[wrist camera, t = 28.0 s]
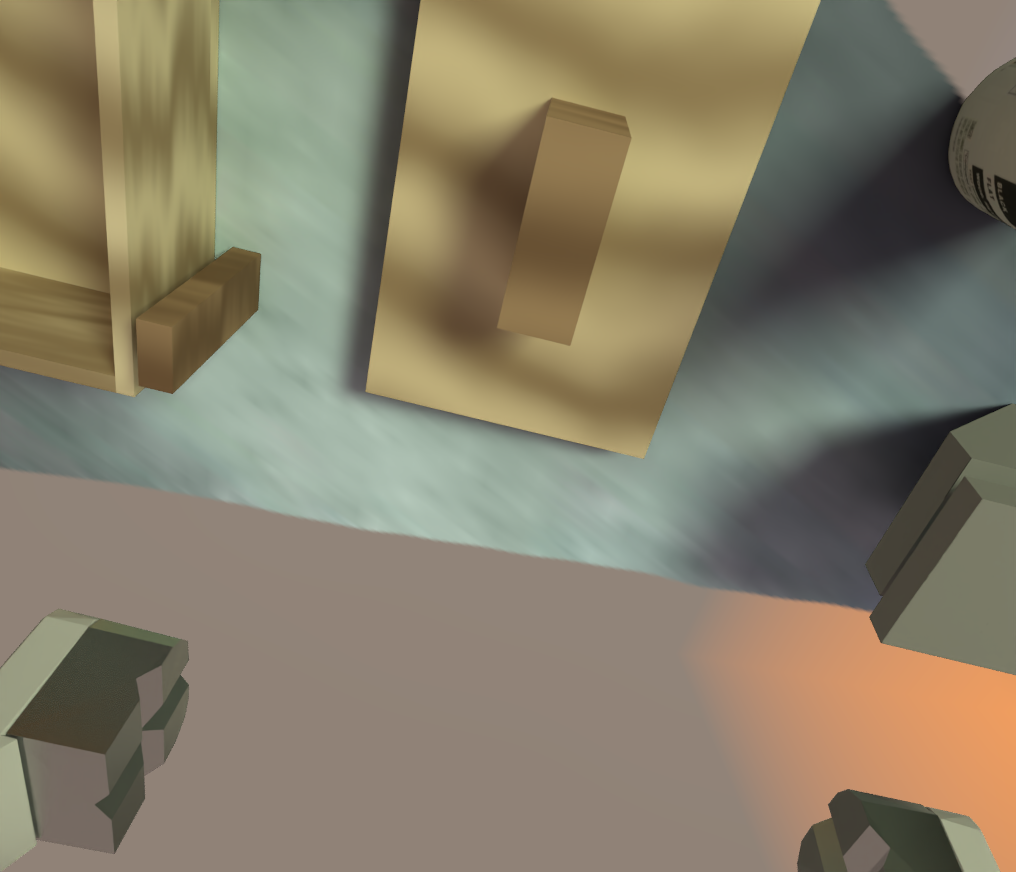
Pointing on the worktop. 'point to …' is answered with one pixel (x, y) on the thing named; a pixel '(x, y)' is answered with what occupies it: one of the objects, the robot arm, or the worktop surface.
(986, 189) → the spray can
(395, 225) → the toolbox lid
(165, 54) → the toolbox
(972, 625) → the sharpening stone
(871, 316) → the worktop surface
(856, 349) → the worktop surface
